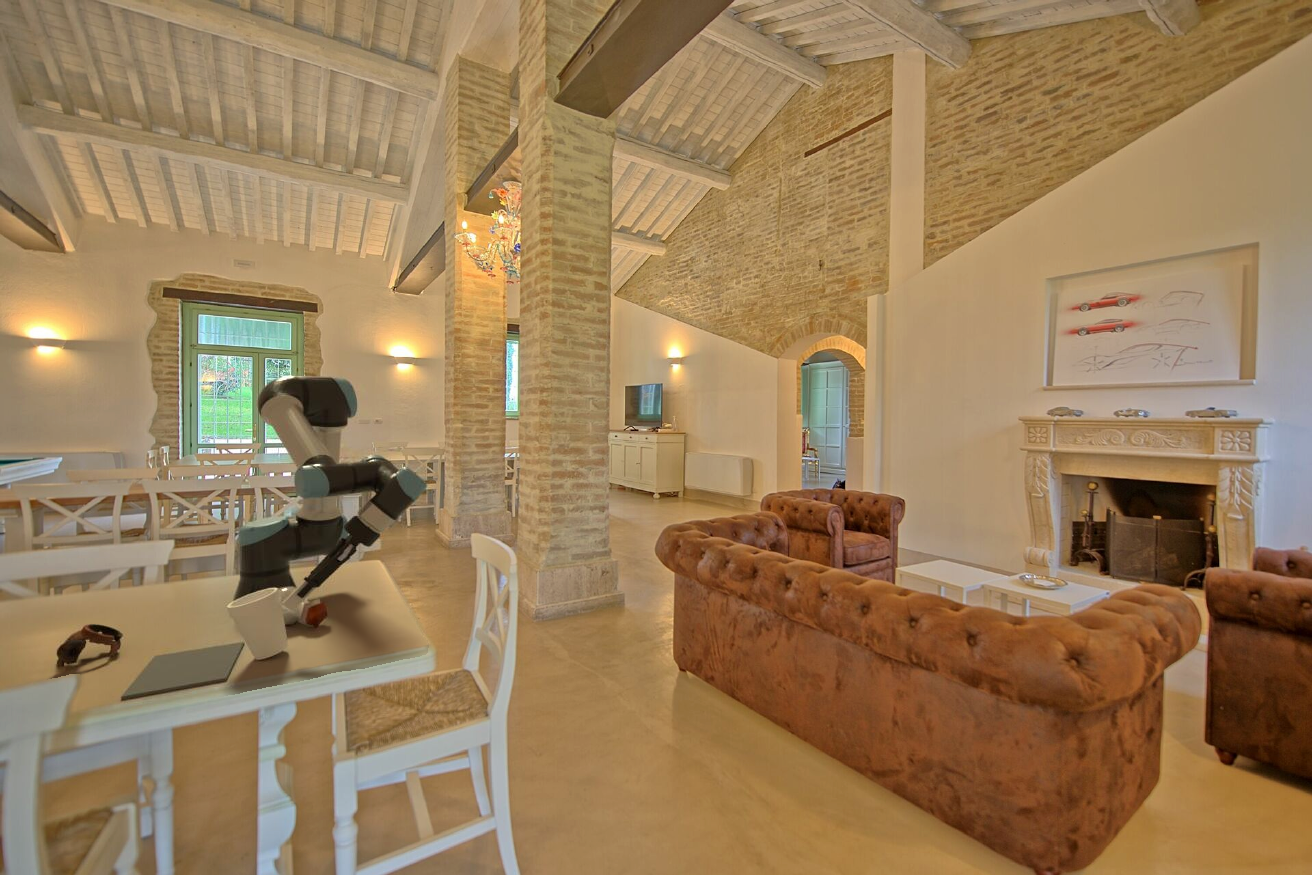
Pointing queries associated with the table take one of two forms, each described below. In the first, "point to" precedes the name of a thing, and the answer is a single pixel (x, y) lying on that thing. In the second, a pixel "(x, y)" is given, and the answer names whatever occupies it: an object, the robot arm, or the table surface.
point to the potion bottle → (303, 610)
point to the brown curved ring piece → (89, 632)
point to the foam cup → (260, 622)
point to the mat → (185, 670)
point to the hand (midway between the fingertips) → (287, 606)
